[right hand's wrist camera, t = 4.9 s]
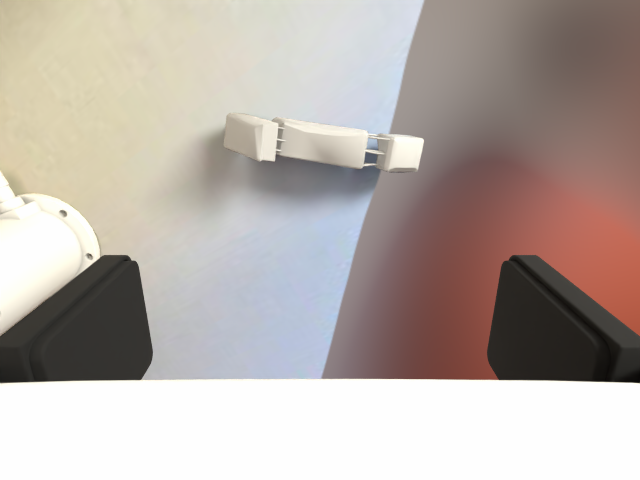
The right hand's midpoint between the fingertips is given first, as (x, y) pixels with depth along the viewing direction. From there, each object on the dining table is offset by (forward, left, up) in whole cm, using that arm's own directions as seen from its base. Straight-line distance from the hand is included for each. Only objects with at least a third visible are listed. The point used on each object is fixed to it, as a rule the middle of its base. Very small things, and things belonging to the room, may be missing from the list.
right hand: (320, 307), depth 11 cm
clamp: (0, 0, -36) cm, 36 cm away
